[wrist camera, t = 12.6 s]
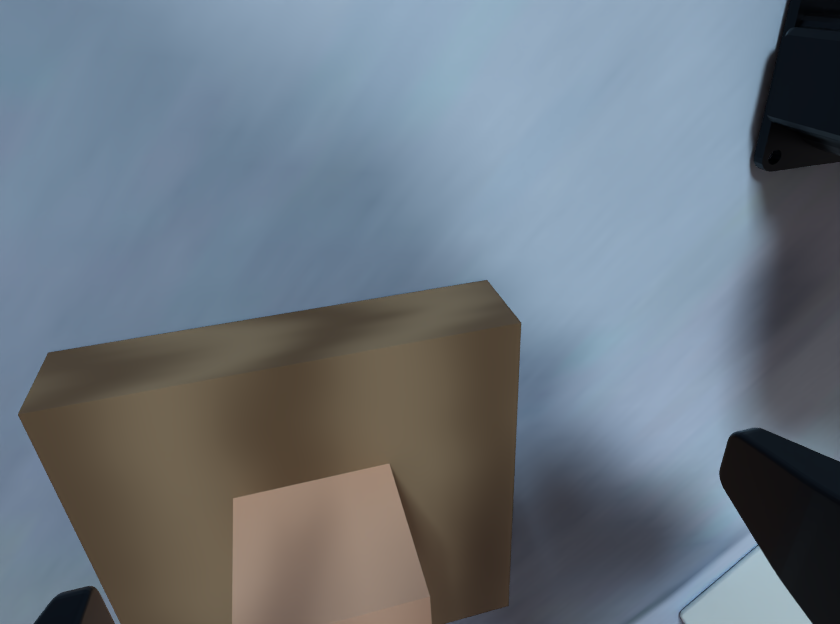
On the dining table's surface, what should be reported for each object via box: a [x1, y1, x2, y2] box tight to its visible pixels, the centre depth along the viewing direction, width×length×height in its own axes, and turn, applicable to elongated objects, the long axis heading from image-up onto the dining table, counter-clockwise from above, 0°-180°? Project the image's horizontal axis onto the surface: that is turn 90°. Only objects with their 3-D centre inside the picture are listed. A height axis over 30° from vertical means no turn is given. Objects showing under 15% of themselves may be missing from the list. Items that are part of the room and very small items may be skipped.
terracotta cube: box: [232, 464, 432, 624], centre depth 19 cm, size 5×5×5 cm
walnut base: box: [18, 280, 521, 624], centre depth 22 cm, size 14×14×3 cm
